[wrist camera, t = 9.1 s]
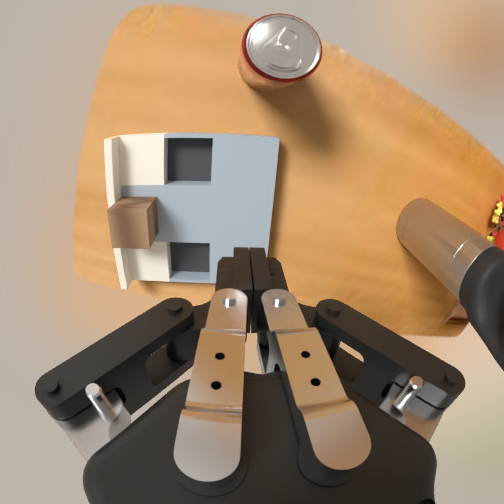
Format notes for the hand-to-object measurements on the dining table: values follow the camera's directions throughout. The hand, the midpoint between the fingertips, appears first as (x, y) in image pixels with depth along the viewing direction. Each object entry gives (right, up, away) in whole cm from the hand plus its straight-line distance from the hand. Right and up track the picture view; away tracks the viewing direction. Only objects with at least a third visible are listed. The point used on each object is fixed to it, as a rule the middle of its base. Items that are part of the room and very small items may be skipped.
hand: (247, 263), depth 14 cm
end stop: (-18, +6, +21) cm, 28 cm away
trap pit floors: (-8, +7, +24) cm, 26 cm away
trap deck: (-8, +7, +24) cm, 26 cm away
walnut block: (-15, +6, +21) cm, 26 cm away
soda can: (+2, +24, +16) cm, 29 cm away
